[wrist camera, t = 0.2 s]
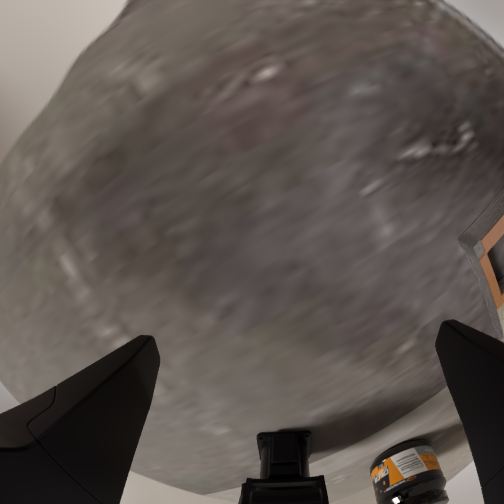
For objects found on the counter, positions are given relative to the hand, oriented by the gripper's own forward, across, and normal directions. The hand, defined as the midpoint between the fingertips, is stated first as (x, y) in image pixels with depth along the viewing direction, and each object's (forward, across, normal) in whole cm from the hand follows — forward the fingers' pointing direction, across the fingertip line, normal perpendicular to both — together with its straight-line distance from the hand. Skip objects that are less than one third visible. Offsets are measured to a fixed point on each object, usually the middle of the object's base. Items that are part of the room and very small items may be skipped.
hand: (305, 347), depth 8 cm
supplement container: (+14, -18, +36) cm, 43 cm away
